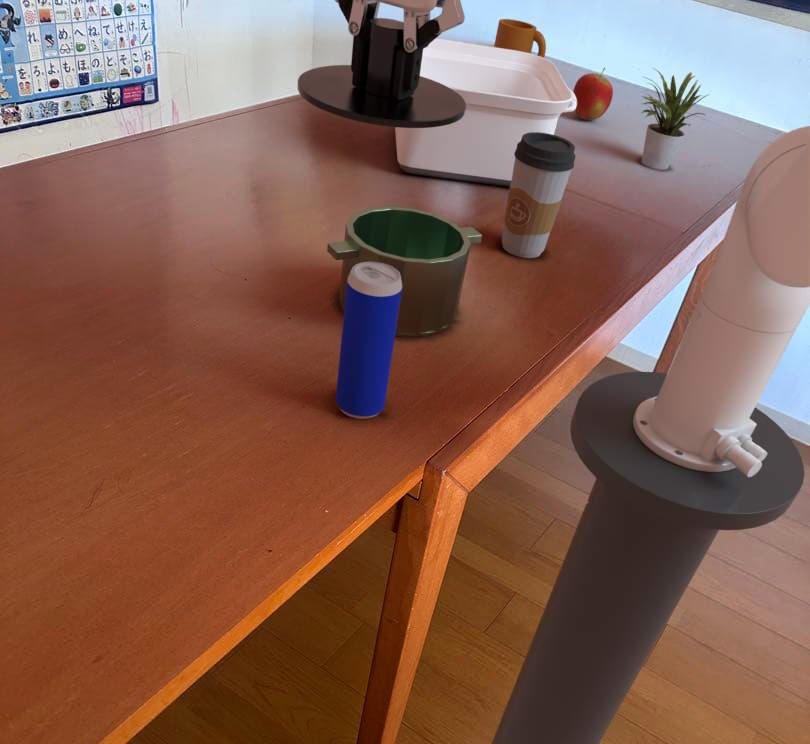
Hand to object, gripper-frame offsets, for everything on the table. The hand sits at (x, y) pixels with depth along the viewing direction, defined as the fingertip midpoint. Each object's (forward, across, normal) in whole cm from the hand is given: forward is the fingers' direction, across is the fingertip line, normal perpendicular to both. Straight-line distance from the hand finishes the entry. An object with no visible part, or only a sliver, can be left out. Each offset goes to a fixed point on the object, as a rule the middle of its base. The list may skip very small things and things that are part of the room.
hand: (383, 88), depth 76 cm
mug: (+27, +36, -131) cm, 139 cm away
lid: (+1, 0, 0) cm, 1 cm away
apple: (+27, +10, -110) cm, 114 cm away
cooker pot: (+27, +1, -11) cm, 29 cm away
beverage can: (+27, -7, +11) cm, 30 cm away
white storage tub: (+27, +18, -66) cm, 74 cm away
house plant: (+27, -9, -97) cm, 101 cm away
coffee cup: (+27, -5, -40) cm, 48 cm away
